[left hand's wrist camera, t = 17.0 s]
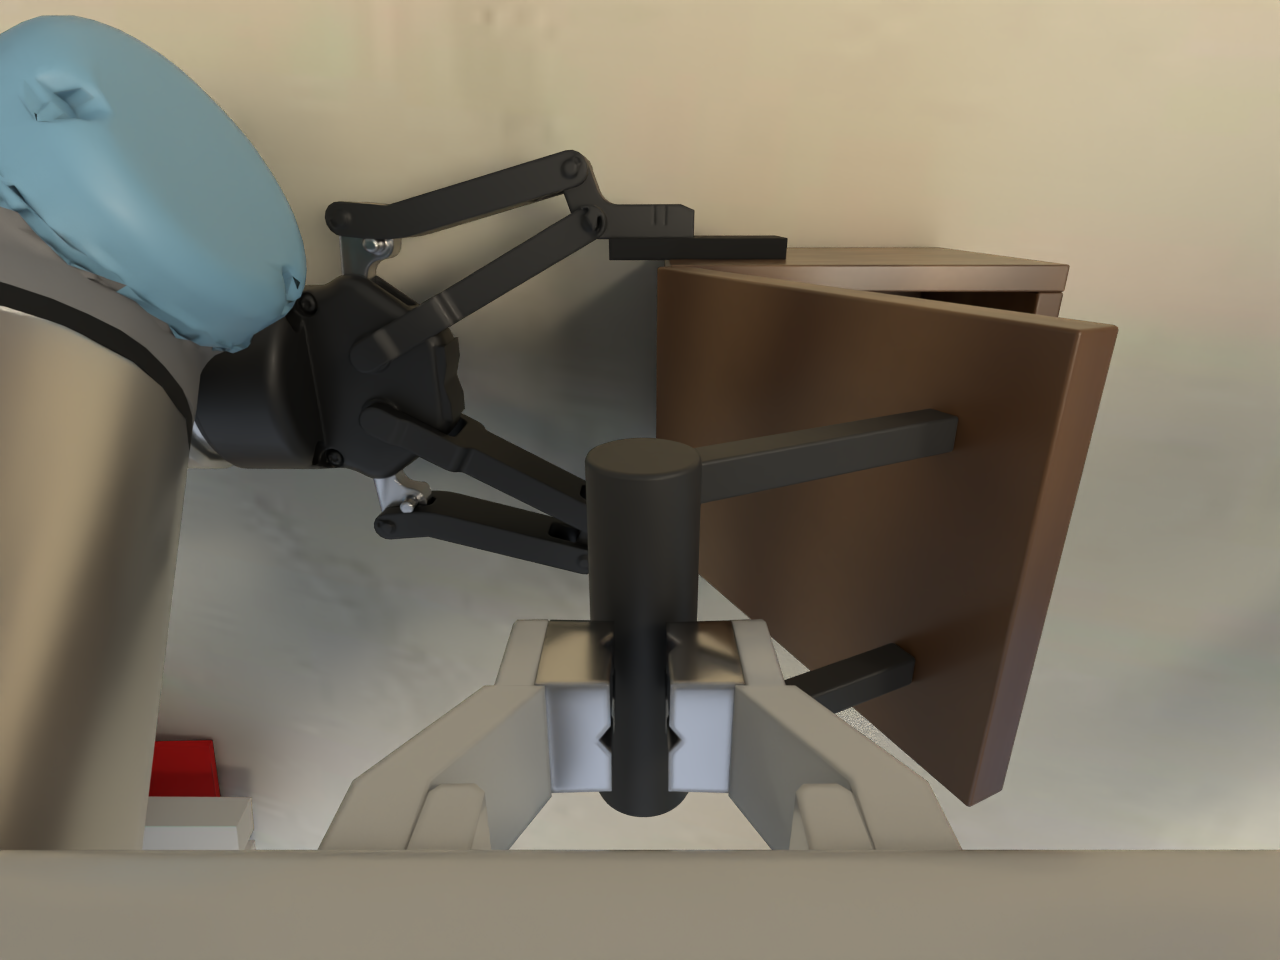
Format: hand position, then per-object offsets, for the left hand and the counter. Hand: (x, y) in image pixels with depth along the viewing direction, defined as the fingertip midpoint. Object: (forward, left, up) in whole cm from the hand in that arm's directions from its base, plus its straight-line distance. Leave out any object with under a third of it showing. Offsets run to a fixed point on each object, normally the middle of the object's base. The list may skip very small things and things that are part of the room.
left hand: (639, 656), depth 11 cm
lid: (-2, +4, -8) cm, 10 cm away
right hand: (-2, +5, -19) cm, 20 cm away
